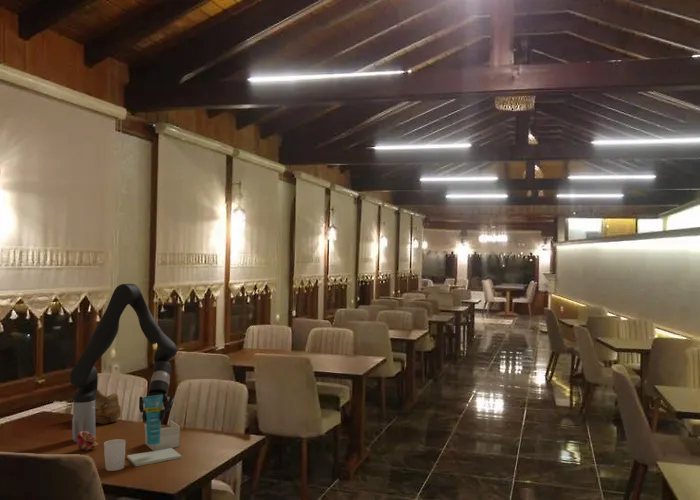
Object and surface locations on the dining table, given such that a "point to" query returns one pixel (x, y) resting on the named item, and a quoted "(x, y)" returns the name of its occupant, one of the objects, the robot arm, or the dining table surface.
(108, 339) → the robot arm
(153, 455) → the tile
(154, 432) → the tube
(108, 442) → the white cup
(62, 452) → the dining table surface
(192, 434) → the dining table surface
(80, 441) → the flower
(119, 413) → the rough brown rock
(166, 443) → the carton
